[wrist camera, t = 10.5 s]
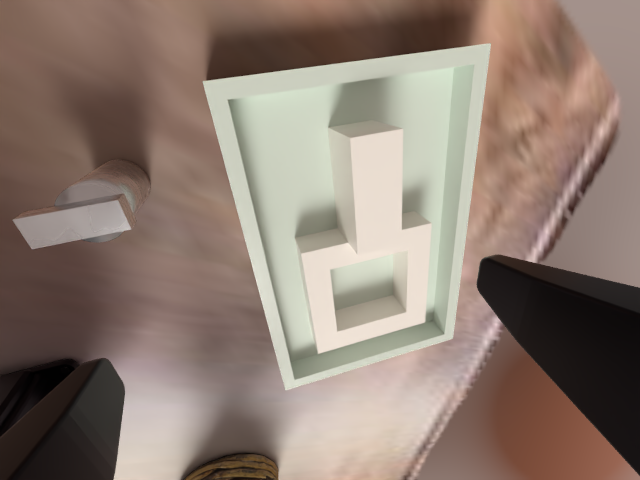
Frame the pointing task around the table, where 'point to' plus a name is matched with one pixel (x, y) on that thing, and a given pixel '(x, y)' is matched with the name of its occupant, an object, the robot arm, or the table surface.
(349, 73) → the tray
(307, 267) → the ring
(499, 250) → the table surface
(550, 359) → the robot arm
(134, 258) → the table surface
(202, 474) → the wooden mug
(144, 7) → the table surface
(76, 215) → the grey knob with bar
